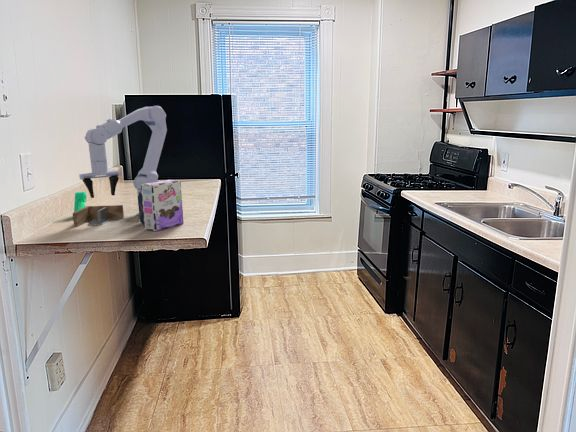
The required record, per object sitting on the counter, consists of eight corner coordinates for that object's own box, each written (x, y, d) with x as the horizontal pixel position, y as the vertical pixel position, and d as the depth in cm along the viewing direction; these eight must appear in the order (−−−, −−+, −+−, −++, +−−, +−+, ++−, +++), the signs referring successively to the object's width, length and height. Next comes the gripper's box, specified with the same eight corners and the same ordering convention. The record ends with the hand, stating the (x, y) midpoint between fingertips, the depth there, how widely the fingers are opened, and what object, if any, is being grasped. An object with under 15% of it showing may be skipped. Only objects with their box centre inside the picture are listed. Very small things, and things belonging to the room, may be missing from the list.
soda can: (139, 222, 170) (136, 191, 168) (157, 220, 173) (155, 189, 170) (141, 226, 164) (138, 193, 161) (160, 224, 167) (157, 192, 164)
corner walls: (124, 217, 179) (122, 204, 178) (112, 225, 166) (111, 211, 165) (88, 218, 179) (86, 206, 177) (74, 227, 165) (72, 213, 164)
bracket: (101, 224, 168) (100, 211, 167) (88, 224, 167) (86, 211, 166) (108, 219, 176) (107, 207, 174) (96, 219, 175) (94, 207, 174)
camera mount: (94, 218, 180) (92, 193, 178) (74, 219, 179) (71, 194, 177) (101, 212, 192) (99, 189, 189) (82, 213, 190) (80, 189, 188)
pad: (102, 224, 168) (102, 224, 167) (87, 225, 167) (87, 224, 167) (109, 219, 176) (109, 219, 176) (95, 220, 176) (95, 219, 176)
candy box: (155, 231, 155) (151, 184, 151) (144, 230, 158) (139, 183, 154) (184, 223, 166) (181, 179, 163) (173, 222, 169) (169, 179, 166)
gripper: (80, 163, 162) (85, 200, 165) (121, 160, 170) (125, 195, 173) (76, 162, 167) (80, 197, 170) (115, 159, 176) (119, 193, 179)
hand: (102, 196), depth 172 cm, fingers open, 7 cm apart
